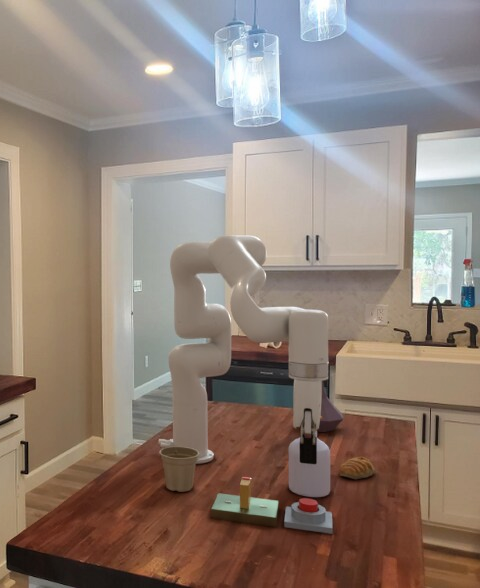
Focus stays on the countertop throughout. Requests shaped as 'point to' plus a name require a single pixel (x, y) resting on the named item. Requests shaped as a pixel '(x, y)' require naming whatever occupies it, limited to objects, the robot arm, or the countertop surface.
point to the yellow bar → (245, 492)
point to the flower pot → (179, 467)
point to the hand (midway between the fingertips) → (308, 458)
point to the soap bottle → (309, 471)
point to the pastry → (357, 468)
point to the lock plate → (245, 510)
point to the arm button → (308, 505)
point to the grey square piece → (308, 519)
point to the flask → (328, 414)
